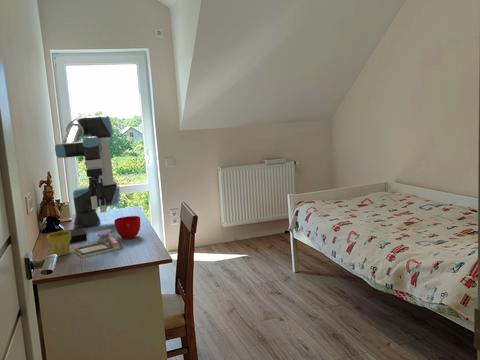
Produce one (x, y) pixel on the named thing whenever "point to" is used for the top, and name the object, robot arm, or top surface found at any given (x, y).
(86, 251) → the seating jig
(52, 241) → the plant pot
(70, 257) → the top surface
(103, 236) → the toy table
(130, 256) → the top surface
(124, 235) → the ceramic cup
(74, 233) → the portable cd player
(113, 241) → the bar
